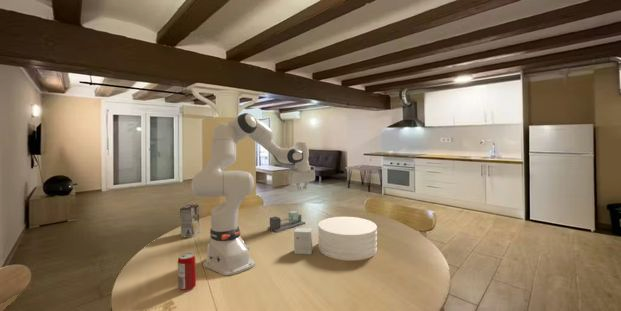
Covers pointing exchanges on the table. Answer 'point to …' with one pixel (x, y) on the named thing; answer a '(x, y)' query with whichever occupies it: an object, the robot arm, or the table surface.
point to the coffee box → (189, 220)
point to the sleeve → (293, 216)
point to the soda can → (186, 272)
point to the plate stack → (347, 238)
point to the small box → (303, 241)
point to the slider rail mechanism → (278, 226)
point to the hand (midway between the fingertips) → (302, 189)
